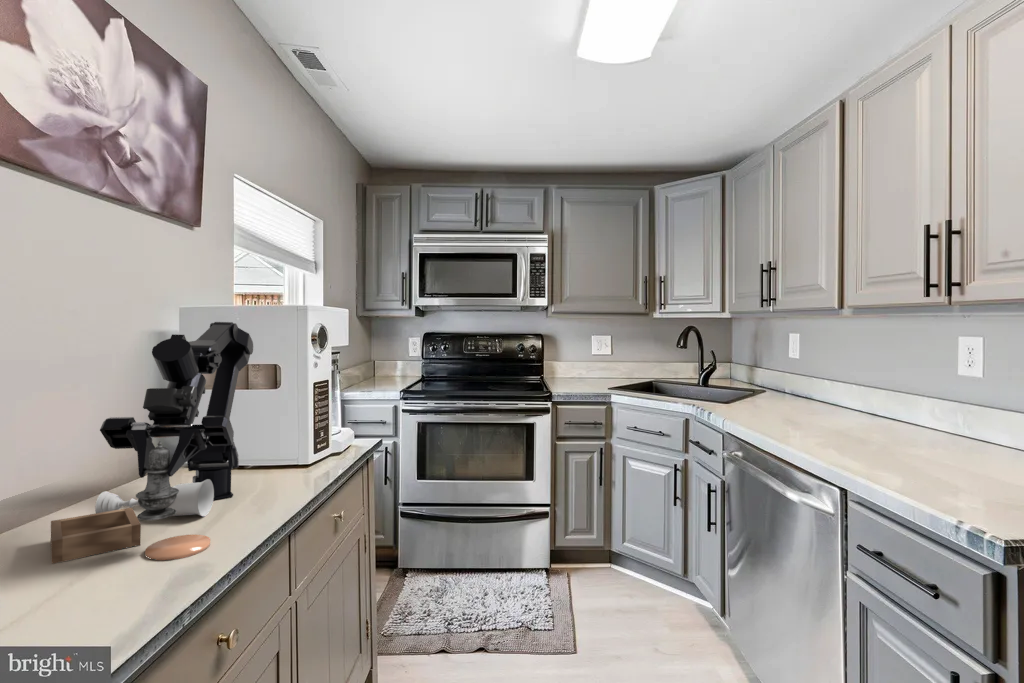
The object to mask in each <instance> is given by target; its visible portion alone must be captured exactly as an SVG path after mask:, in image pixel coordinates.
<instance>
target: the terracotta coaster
mask: <svg viewBox="0 0 1024 683" xmlns="http://www.w3.org/2000/svg"><path fill="white" fill-rule="evenodd" d="M210 546H211V538H210V537H209V536H207V535H203V534H183V535H175V536H173V537H171V536H170V537H169V538H168V537H167V538H164V539H161V540H158V541H155V542H153V543H152V544H150V545H148V546H147V547H146V548H145V550H144V551H145V552H144V556H145V555H146V556H147V557H149V558H151V559H150V560H152V559H156V560H155V561H173V560H179V559H183V558H189V557H192V556H196V555H197V554H200V553H202V552H203V551H206V550H207V549H208V548H209V547H210ZM146 556H145V557H146ZM147 557H146V558H147ZM149 558H148V559H149Z"/></svg>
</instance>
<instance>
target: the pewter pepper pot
mask: <svg viewBox="0 0 1024 683" xmlns="http://www.w3.org/2000/svg"><path fill="white" fill-rule="evenodd" d="M170 457H171V452H170V448H167V447H165V446H164V445H163V443H162V442H161V441H159V442H158V443H157V446H155V448H153V449H152V450H150V452H149V462H148V469H146V470H145V472H147V473H146V474H147V475H146V476H147V478H146V479H147V480H146V486H145V489H144V490H142V491H139V492H137V493H136V494H135V498H136V499H137V500H138V503H139V505H138V506H140V507H141V508H142V509H143V511H141V512H140V513H138V514H137V515H136V516H137V518H138V520H139V521H157V520H163V519H167V518H171V517H173V516H175V515H174V514H175V513H176V510H174V509H172V508H169V506H171V505H172V504H173V503H174V501H175V499H176V497H177V494H178V492H179V490H178V489H176V488H172V487H173V486H171V483H170V477H169V476H168V474H167V472H168V468H169V465H170V462H171V459H170Z"/></svg>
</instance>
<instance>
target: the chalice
mask: <svg viewBox="0 0 1024 683" xmlns="http://www.w3.org/2000/svg"><path fill="white" fill-rule="evenodd" d="M171 487H172V488H176V489H178V490H179V492H178V494H177V497H176V499H175V501H174V503H173V504H172V505H171V506H169V508H172V509H174V510H176V513H175V514H174V515H173V516H175V517H176V516H177V517H178V516H179V517H180V516H193V515H198V516H201V517H206V516H207V515H208V514H209V513H210V512H211V509H212V507H213V504H214V500H213V498H214V488H213V484H212V481H211V480H210V479H207V480H205V481H203V482H197V483H193V482H185V483H178V484H175V485H174V486H171ZM135 506H140V505H139V503H138V499H135V498H130V499H129V500H123V499H122V498H121V496H119V495H118V494H116V493H113V492H109V491H107V490H105V491H102V492H101V493H100V494H99V495H98V496H97V499H96V502H95V506H94V507H95V508H94V509H95V510H94V512H95V514H96V513H102V512H108V511H114V510H120V509H121V508H122V507H128V508H132V509H133V507H135Z"/></svg>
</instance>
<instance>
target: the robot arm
mask: <svg viewBox="0 0 1024 683" xmlns="http://www.w3.org/2000/svg"><path fill="white" fill-rule="evenodd" d="M251 337H252V336H251V335H250V333H248V332H247V331H245V330H243V329H241V328H239V326H238V324H237V323H234V322H233V321H230V322H229V321H214V322H211V323H210V324H209V328H208V329H207V330H206V331H205V332H204V333H202V334H201V335H200V336H199V337H198V338H197V339H196V340H191V341H188V340H187V338H186V336H185V334H171V336H170V338H167V339H164V340H162V341H160V342H158V343H157V344H156V345H154V346H153V347H152V350H151V355H152V357H153V359H154V360H153V361H155V364H156V366H157V368H158V371H159V373H160V375H161V377H162V379H163V380H164V381H167V382H168V384H167V386H166V388H165V387H164V388H163V387H161V388H155V387H153V388H147V389H146V391H145V396H144V400H143V404H142V405H143V406H142V409H143V410H147V411H148V412H149V413H148V415H147V418H148V419H149V421H153V422H152V424H150V423H149V422H147V421H146V422H144V421H143V422H139V421H138V422H137V421H136V419H135V417H134V416H124V417H123V416H121V417H120V416H118V417H115V416H114V417H108V418H106V419H104V421H103V422H102V424H101V427H100V428H99V431H100V433H101V435H102V436H103V438H104V439H105V440H106V442H107V444H108V446H109V447H110V448H113V449H115V450H120V449H121V450H122V449H134V451H135V452H137V466H138V468H137V469H138V475H139V477H140V478H142V479H143V478H145V476H146V474H147V472H145V470H146V469H148V462H149V452H150V450H152V449H153V448H156V446H155V444H154V443H153V440H155V438H156V439H158V438H178V442H177V446H176V448H175V450H174V453H173V454H172V458H171V459H170V462H169V468H168V472H167V474H168V476H169V478H170V477H173V476H174V475H175V474H176V473H177V472H178V471H179V470H180V469H181V468H182V467H183V466H184V465H185V464H186V463H187V468H188V470H187V471H188V472H192V471H195V475H193V476H192V483H197V482H203V481H205V480H207V479H210V480H211V481H212V484H213V488H214V498H213V501H214V500H215V501H216V500H219V499H225V498H226V499H227V498H231V497H233V496H234V493H233V492H232V470H234V469H237V468H239V463H240V462H239V461H240V460H239V453H238V451H237V450H238V449H237V447H236V444H235V442H234V441H235V440H234V434H235V432H234V428H233V426H232V423H231V420H230V418H231V413H232V409H233V408H232V407H233V402H234V398H235V392H236V387H237V382H238V378H239V374H240V373H239V372H240V371H241V370H242V369H244V368H245V366H247V365H248V364H249V360H250V356H251V355H252V354H253V352H254V342H253V339H252V338H251ZM214 373H215V375H214V379H213V384H212V389H211V393H210V397H209V401H208V406H207V410H206V414H205V416H203V417H202V419H201V424H194V422H195V419H196V418H198V417H199V414H200V411H199V409H198V408H199V406H200V403H201V400H202V397H203V395H204V394H206V383H207V378H206V377H205V375H212V374H214Z"/></svg>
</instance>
